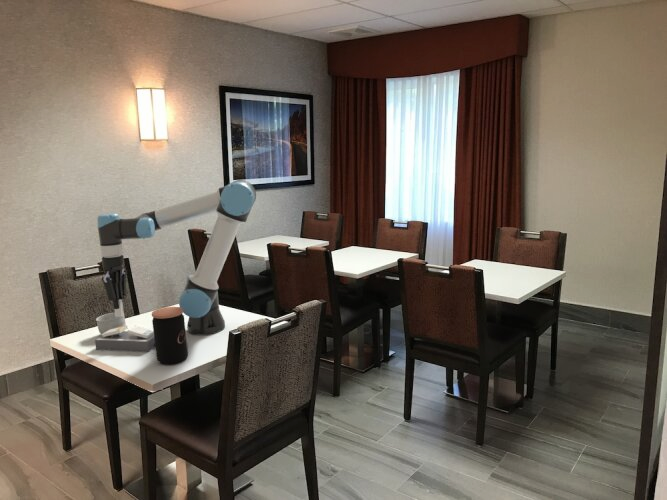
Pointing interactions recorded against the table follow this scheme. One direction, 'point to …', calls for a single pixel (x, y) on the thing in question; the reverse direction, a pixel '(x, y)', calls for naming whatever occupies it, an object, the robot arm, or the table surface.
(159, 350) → the coffee jar
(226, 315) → the table surface
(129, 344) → the power strip
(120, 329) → the rocker amber
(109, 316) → the teacup
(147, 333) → the white flat packet
